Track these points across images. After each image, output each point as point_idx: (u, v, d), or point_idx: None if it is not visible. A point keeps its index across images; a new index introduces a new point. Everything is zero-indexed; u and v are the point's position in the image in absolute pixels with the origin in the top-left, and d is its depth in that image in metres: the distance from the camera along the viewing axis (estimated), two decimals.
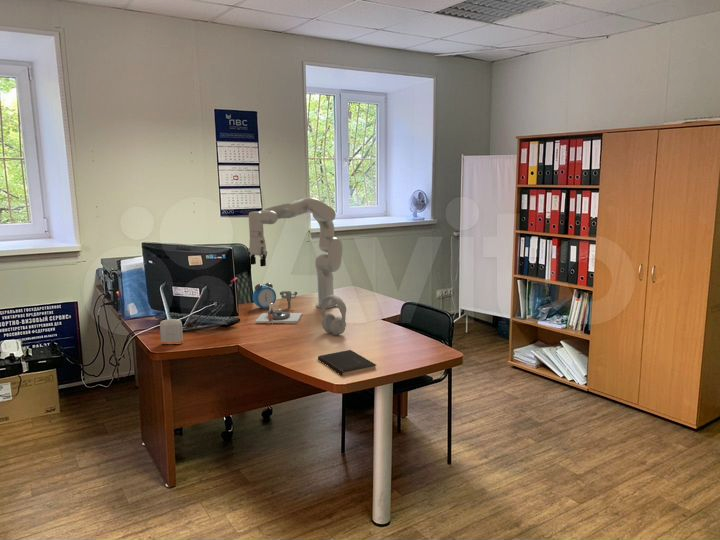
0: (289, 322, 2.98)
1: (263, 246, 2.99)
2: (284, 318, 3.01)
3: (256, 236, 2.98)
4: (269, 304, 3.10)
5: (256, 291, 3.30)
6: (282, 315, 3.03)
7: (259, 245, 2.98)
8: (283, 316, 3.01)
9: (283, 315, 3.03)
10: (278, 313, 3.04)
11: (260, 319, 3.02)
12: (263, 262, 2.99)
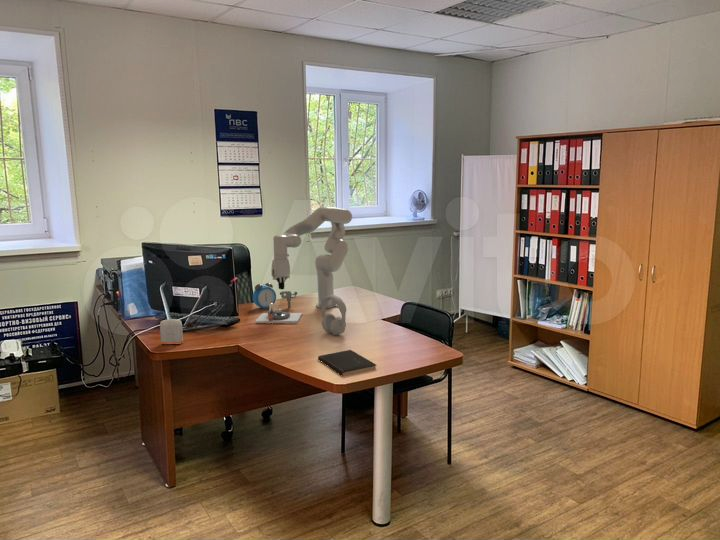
0: (289, 322, 2.98)
1: None
2: (284, 318, 3.01)
3: None
4: (269, 304, 3.10)
5: (256, 291, 3.30)
6: (282, 315, 3.03)
7: None
8: (283, 316, 3.01)
9: (283, 315, 3.03)
10: (278, 313, 3.04)
11: (260, 319, 3.02)
12: None
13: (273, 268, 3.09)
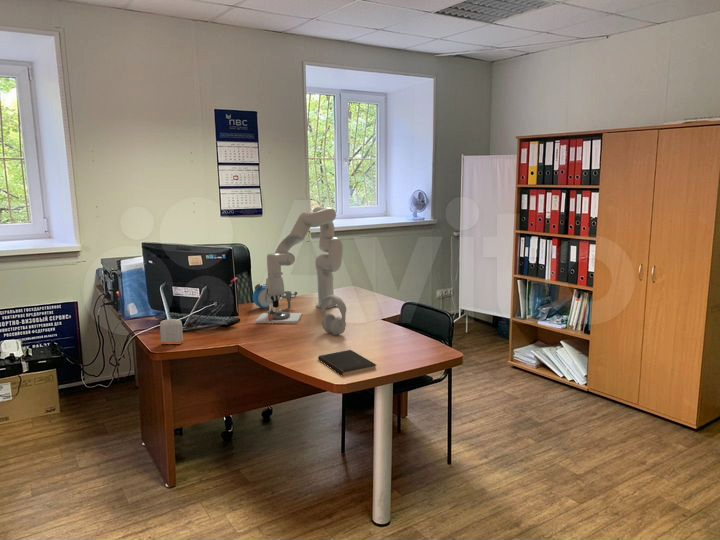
0: (289, 322, 2.98)
1: None
2: (284, 318, 3.01)
3: None
4: (269, 304, 3.10)
5: (256, 291, 3.30)
6: (282, 315, 3.03)
7: None
8: (283, 316, 3.01)
9: (283, 315, 3.03)
10: (278, 313, 3.04)
11: (260, 319, 3.02)
12: None
13: (267, 287, 3.08)
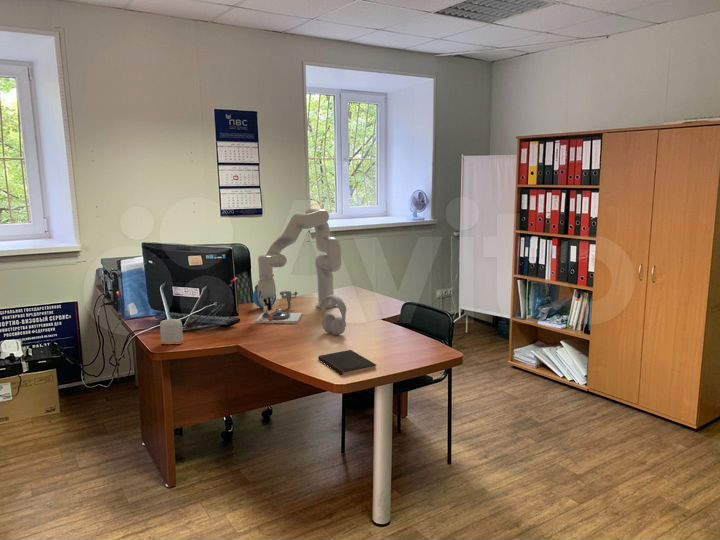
0: (289, 322, 2.98)
1: None
2: (289, 316, 3.05)
3: None
4: (264, 306, 3.05)
5: (256, 291, 3.30)
6: (285, 314, 3.06)
7: None
8: (288, 314, 3.04)
9: (285, 314, 3.06)
10: (280, 313, 3.05)
11: (260, 319, 3.02)
12: None
13: (260, 289, 3.03)
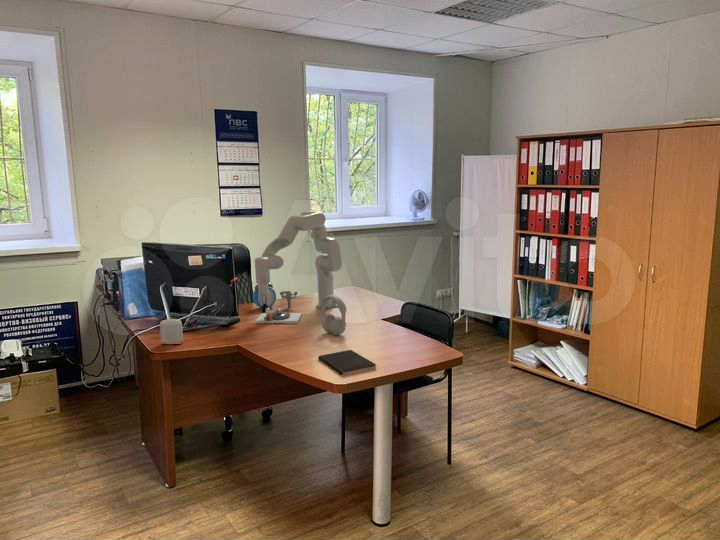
0: (289, 322, 2.98)
1: None
2: None
3: None
4: (268, 309, 2.99)
5: (256, 291, 3.30)
6: (284, 313, 3.08)
7: None
8: None
9: (284, 313, 3.09)
10: (281, 312, 3.06)
11: (260, 319, 3.02)
12: None
13: (263, 292, 2.96)
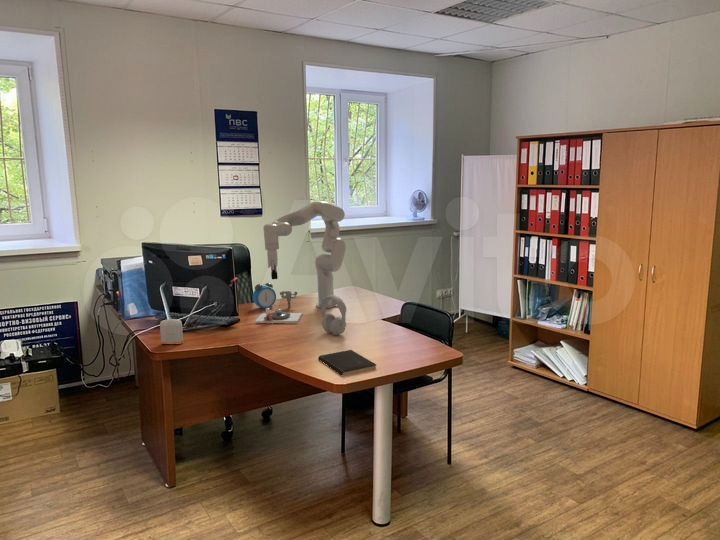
0: (289, 322, 2.98)
1: None
2: None
3: None
4: (268, 309, 2.99)
5: (256, 291, 3.30)
6: (284, 313, 3.08)
7: None
8: None
9: (284, 313, 3.09)
10: (281, 312, 3.06)
11: (260, 319, 3.02)
12: None
13: (272, 258, 3.01)
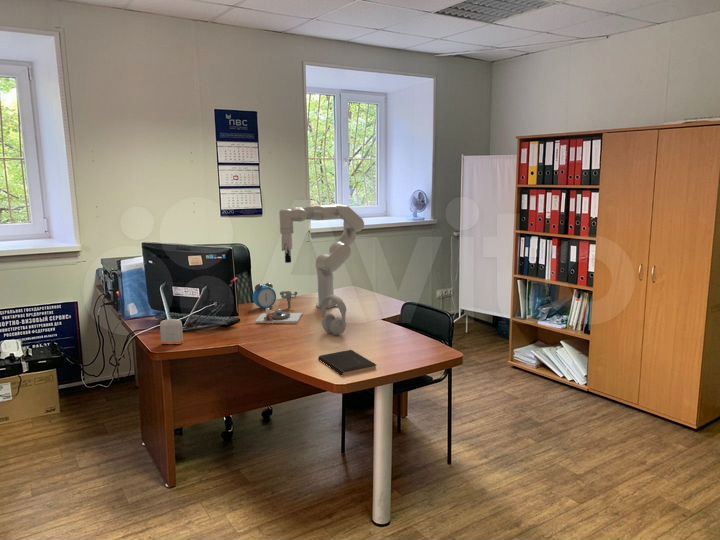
0: (289, 322, 2.98)
1: None
2: None
3: None
4: (268, 309, 2.99)
5: (256, 291, 3.30)
6: (284, 313, 3.08)
7: None
8: None
9: (284, 313, 3.09)
10: (281, 312, 3.06)
11: (260, 319, 3.02)
12: None
13: (285, 242, 3.13)
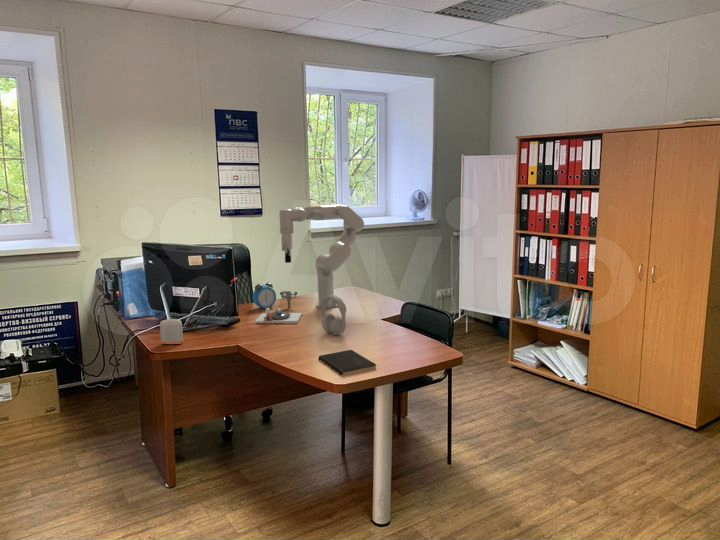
0: (289, 322, 2.98)
1: None
2: None
3: None
4: (268, 309, 2.99)
5: (256, 291, 3.30)
6: (284, 313, 3.08)
7: None
8: None
9: (284, 313, 3.09)
10: (281, 312, 3.06)
11: (260, 319, 3.02)
12: None
13: (285, 242, 3.13)
